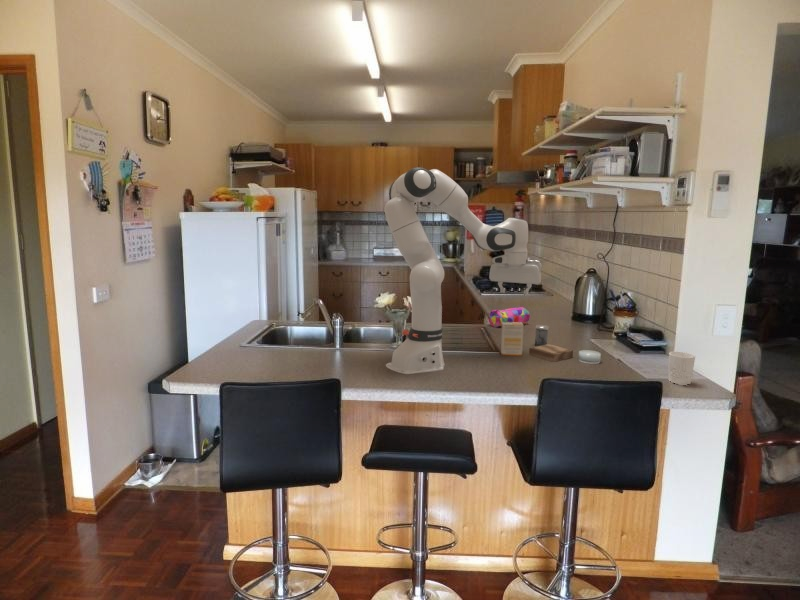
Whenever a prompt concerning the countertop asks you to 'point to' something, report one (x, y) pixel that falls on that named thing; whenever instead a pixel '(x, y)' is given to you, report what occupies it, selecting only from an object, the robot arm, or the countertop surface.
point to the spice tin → (541, 335)
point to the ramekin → (589, 356)
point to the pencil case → (508, 316)
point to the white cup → (680, 367)
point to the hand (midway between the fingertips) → (514, 293)
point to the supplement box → (512, 338)
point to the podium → (551, 352)
